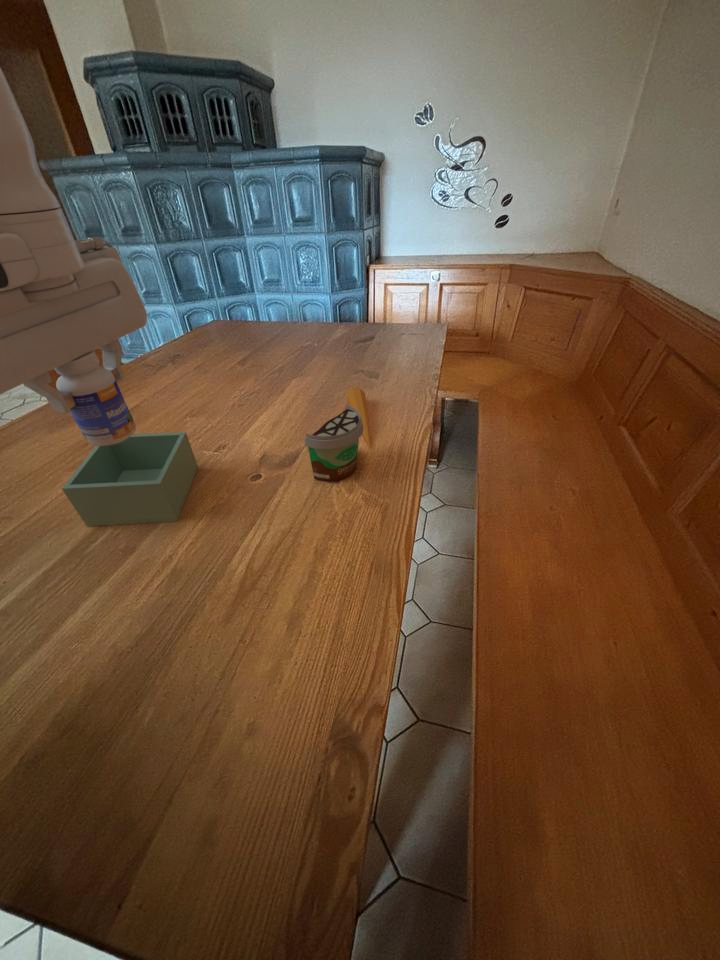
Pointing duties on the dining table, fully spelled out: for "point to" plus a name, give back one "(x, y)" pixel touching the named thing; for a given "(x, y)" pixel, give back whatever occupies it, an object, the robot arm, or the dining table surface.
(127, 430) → the pill bottle
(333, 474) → the food container
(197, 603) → the dining table surface
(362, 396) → the carrot
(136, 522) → the tub
